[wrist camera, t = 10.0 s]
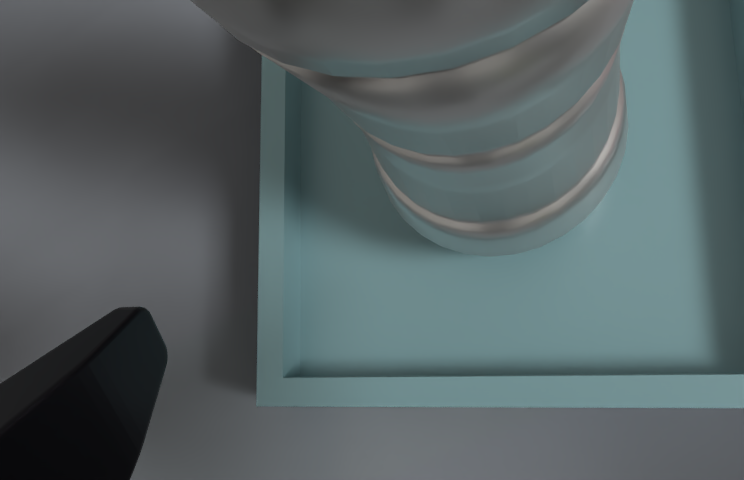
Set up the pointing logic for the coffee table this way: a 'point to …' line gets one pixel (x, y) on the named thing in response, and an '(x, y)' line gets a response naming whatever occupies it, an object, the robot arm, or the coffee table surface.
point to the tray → (517, 255)
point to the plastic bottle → (464, 103)
